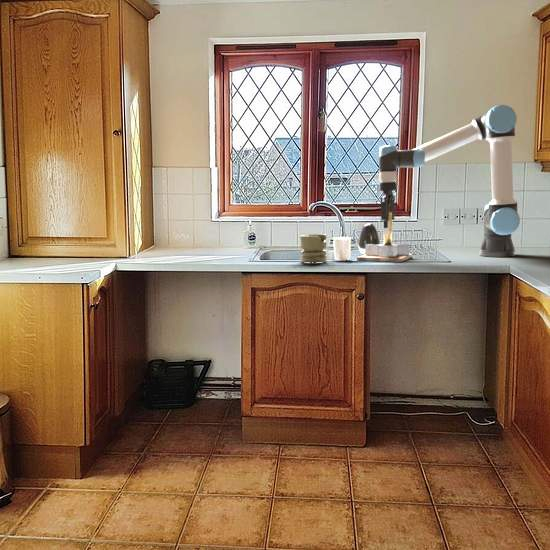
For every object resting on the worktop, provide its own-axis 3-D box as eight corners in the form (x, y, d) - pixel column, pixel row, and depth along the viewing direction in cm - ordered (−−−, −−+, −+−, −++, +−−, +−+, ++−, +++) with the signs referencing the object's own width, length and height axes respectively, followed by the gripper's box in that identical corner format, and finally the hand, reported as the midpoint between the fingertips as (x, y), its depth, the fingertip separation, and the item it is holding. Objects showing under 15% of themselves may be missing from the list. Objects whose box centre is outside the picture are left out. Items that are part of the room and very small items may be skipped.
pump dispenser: (355, 256, 301) (355, 223, 299) (361, 253, 311) (361, 222, 309) (377, 256, 297) (377, 223, 295) (382, 254, 307) (382, 222, 305)
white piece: (409, 254, 288) (409, 243, 287) (401, 257, 278) (401, 246, 277) (371, 253, 296) (371, 242, 296) (362, 256, 286) (362, 245, 285)
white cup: (339, 261, 283) (339, 239, 282) (330, 259, 290) (329, 237, 288) (354, 260, 287) (354, 237, 285) (344, 258, 293) (344, 236, 292)
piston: (295, 235, 280) (310, 233, 289) (296, 263, 282) (310, 260, 291) (316, 236, 273) (331, 234, 282) (317, 264, 275) (331, 261, 284)
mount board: (411, 257, 290) (411, 254, 289) (400, 262, 275) (400, 258, 275) (369, 256, 299) (369, 253, 299) (356, 260, 285) (356, 257, 285)
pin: (392, 247, 285) (393, 211, 283) (390, 248, 282) (390, 212, 280) (385, 247, 287) (385, 211, 285) (382, 248, 284) (382, 212, 282)
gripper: (385, 181, 289) (385, 233, 293) (373, 182, 275) (373, 236, 278) (401, 181, 286) (401, 233, 289) (390, 181, 271) (390, 236, 275)
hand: (387, 234), depth 284 cm, fingers closed on pin, 4 cm apart
